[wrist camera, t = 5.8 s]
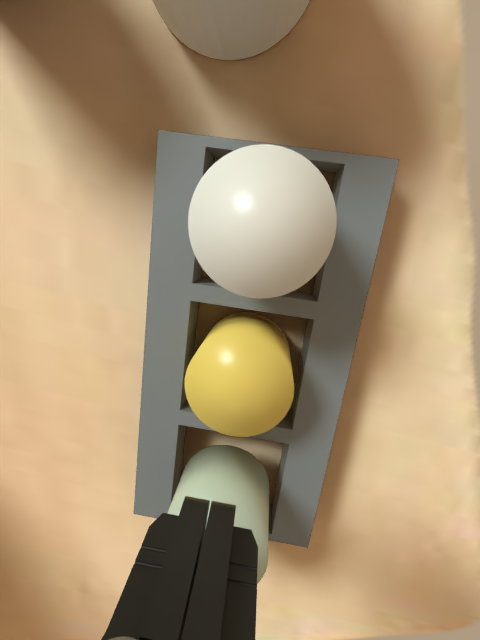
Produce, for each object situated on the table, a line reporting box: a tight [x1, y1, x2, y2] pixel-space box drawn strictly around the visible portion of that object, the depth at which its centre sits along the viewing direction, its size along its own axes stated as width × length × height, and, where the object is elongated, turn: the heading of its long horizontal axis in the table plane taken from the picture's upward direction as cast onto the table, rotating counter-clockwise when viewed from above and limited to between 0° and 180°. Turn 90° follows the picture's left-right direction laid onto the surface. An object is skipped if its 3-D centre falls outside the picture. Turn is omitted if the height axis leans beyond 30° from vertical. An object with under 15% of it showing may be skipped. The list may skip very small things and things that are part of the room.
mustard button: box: [185, 312, 294, 437], centre depth 20 cm, size 6×6×5 cm
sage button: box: [167, 445, 269, 583], centre depth 19 cm, size 6×6×5 cm
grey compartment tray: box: [134, 130, 399, 548], centre depth 21 cm, size 24×12×2 cm, turn 173°
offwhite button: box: [188, 144, 337, 299], centre depth 15 cm, size 6×6×5 cm
